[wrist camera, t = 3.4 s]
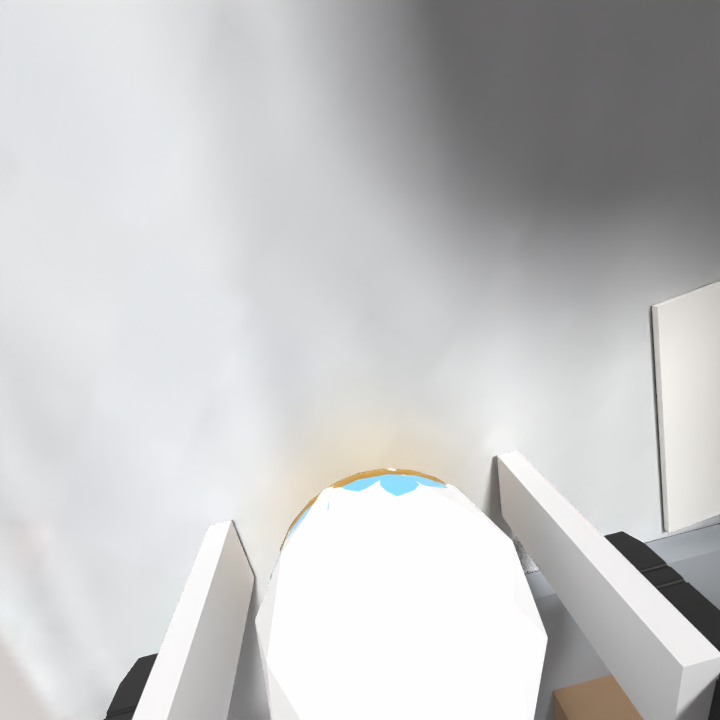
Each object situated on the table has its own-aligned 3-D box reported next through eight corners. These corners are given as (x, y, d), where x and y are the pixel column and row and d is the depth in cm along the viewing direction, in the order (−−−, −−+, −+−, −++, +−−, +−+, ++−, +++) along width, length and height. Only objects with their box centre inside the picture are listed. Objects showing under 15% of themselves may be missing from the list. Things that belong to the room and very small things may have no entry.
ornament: (312, 606, 14) (305, 1057, 6) (247, 456, 11) (102, 880, 4) (476, 555, 14) (672, 930, 6) (445, 398, 11) (695, 685, 4)
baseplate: (419, 602, 14) (426, 627, 13) (819, 497, 15) (852, 514, 14) (462, 822, 20) (469, 851, 19) (749, 737, 21) (770, 761, 20)
